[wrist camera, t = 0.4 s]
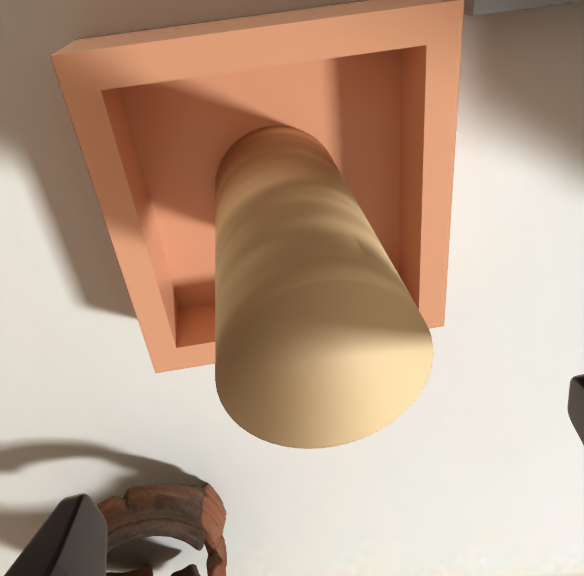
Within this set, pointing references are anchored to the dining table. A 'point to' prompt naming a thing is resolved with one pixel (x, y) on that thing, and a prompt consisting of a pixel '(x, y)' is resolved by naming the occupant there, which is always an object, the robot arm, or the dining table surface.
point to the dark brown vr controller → (169, 522)
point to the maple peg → (307, 300)
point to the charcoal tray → (506, 5)
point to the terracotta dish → (258, 114)
